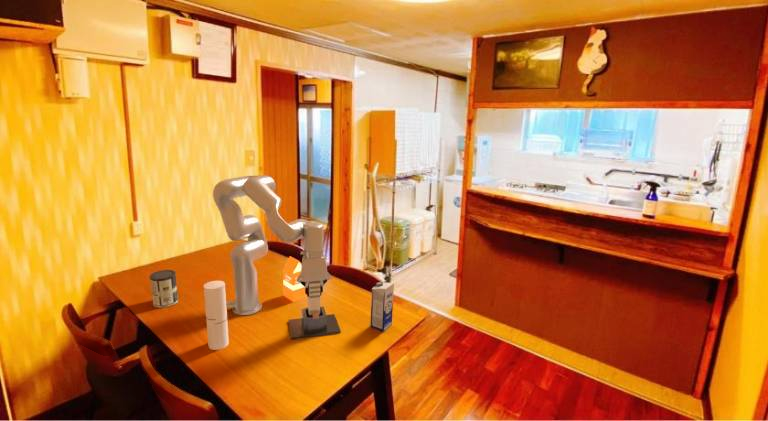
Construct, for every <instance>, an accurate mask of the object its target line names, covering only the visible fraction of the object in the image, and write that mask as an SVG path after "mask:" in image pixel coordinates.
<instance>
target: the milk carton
mask: <svg viewBox="0 0 768 421" xmlns="http://www.w3.org/2000/svg"><path fill="white" fill-rule="evenodd" d="M375 284H376V285H375V286H373V287H372V288H371V303H370V304H371V305H370V306H371V307H370V325H369V326H370V328H373V329H375V330H378V331H380V332H383V333H384V332H386V330H388V329H389V328H390V327H391V326H392V325H393V309H394V293H395V292H394V291H395V283H394V282H383V281H380V282H376V283H375Z"/></svg>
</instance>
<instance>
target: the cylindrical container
mask: <svg viewBox="0 0 768 421" xmlns="http://www.w3.org/2000/svg"><path fill="white" fill-rule="evenodd" d="M203 295H204V306H205V319H206V330H207V344H208V348H209V349H210V350H214V351H218V350H223V349H225V348H226V347H228V345H229V340H230V339H229V327H228V326H229V325H228V312H227V306H226V302H227V296H226V283H225V281H223V280H212V281H208V282H206V283H204V284H203Z"/></svg>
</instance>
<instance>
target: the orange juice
mask: <svg viewBox="0 0 768 421" xmlns="http://www.w3.org/2000/svg"><path fill="white" fill-rule="evenodd" d="M301 265H302V262H300V260H299V259H296V258H294V257H292V256H290V255H289V257H288V259H287V261H286V263H285V264H284V266H283V269H282V272H283V274H282V275H283V276H282V278H283V282H282V284H283V297H285V298H286V299H288V300H290V301H291V302H292V303H295V302H297V301H300V300H304V299H308V297H307V294H305V287H304V286H303V285H302V284H301V283H299V282H297V281H296V279H297V277H298V276H299V275H300V273H301ZM301 280H302V278H301Z"/></svg>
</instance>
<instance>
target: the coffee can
mask: <svg viewBox="0 0 768 421" xmlns="http://www.w3.org/2000/svg"><path fill="white" fill-rule="evenodd" d="M149 281H150V291H151V295H152V296H151V297H152V305H153V307H155V308H159V309H160V308H167V307H171V306H174V305H175V304H177V303H178V302H179V297H178V296H179V295H178V286H177V277H176V271H175V270H172V269H163V270H158V271H154V272H152V273H151V274H150V275H149Z"/></svg>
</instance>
